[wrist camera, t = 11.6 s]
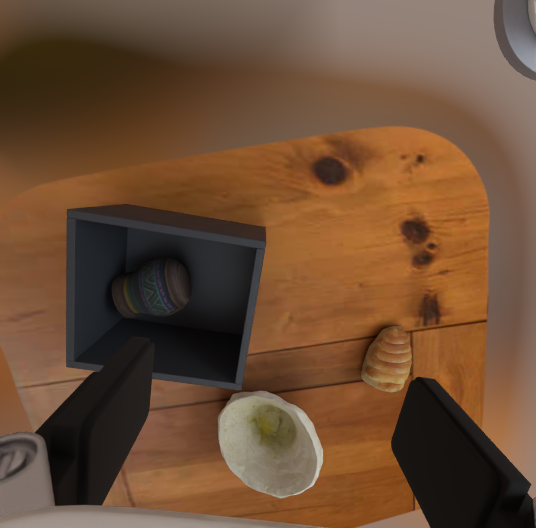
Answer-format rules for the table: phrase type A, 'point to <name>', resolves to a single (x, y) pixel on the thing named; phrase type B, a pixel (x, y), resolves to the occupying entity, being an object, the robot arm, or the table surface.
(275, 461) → the bowl
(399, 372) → the pastry
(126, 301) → the mate gourd
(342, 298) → the table surface
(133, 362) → the robot arm
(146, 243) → the trash bin
